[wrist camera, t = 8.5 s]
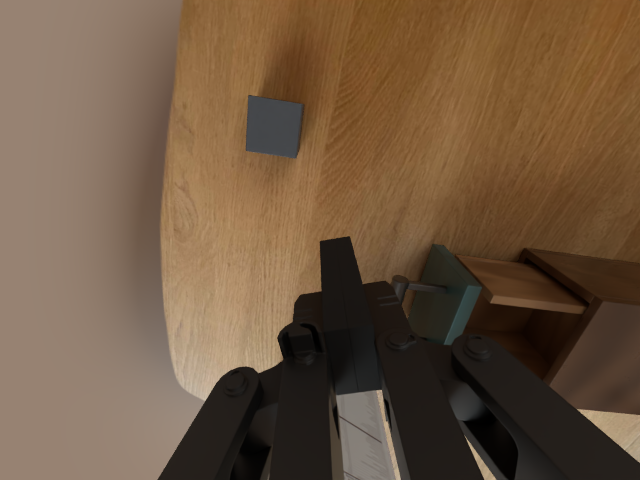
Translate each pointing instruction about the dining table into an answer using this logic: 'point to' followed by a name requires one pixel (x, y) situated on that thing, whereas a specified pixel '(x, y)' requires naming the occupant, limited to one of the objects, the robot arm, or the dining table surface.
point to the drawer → (493, 305)
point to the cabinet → (597, 332)
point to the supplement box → (363, 438)
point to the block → (274, 126)
